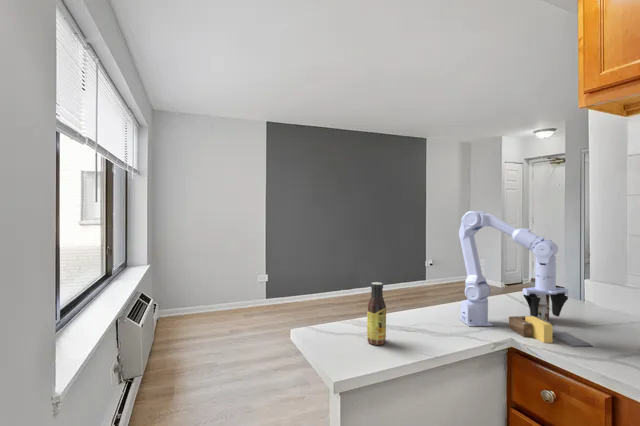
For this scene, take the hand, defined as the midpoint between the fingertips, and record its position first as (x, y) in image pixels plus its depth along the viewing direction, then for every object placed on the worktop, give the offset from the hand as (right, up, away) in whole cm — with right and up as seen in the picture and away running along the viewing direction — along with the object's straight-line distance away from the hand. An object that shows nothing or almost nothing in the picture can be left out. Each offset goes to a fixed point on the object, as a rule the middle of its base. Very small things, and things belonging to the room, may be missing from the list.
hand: (545, 315), depth 109 cm
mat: (+9, -9, +1) cm, 12 cm away
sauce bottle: (-58, -9, -1) cm, 58 cm away
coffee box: (+12, -9, +21) cm, 26 cm away
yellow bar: (0, -9, +3) cm, 9 cm away
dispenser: (0, -9, +8) cm, 11 cm away
